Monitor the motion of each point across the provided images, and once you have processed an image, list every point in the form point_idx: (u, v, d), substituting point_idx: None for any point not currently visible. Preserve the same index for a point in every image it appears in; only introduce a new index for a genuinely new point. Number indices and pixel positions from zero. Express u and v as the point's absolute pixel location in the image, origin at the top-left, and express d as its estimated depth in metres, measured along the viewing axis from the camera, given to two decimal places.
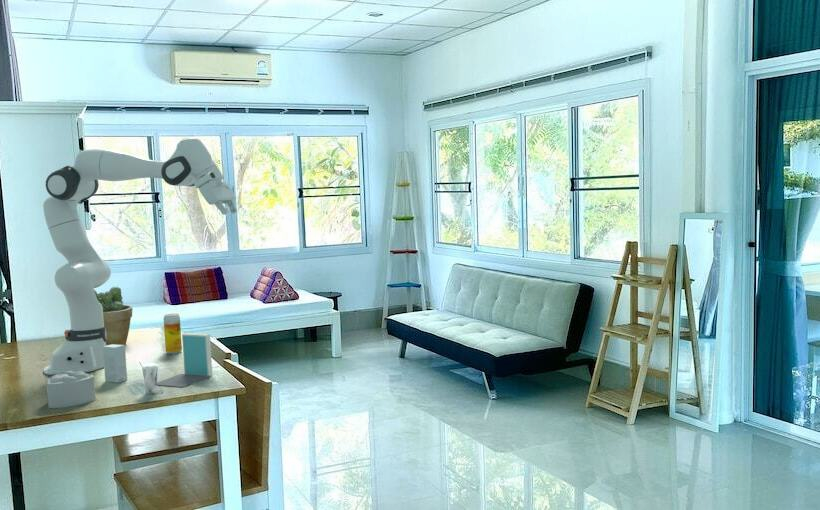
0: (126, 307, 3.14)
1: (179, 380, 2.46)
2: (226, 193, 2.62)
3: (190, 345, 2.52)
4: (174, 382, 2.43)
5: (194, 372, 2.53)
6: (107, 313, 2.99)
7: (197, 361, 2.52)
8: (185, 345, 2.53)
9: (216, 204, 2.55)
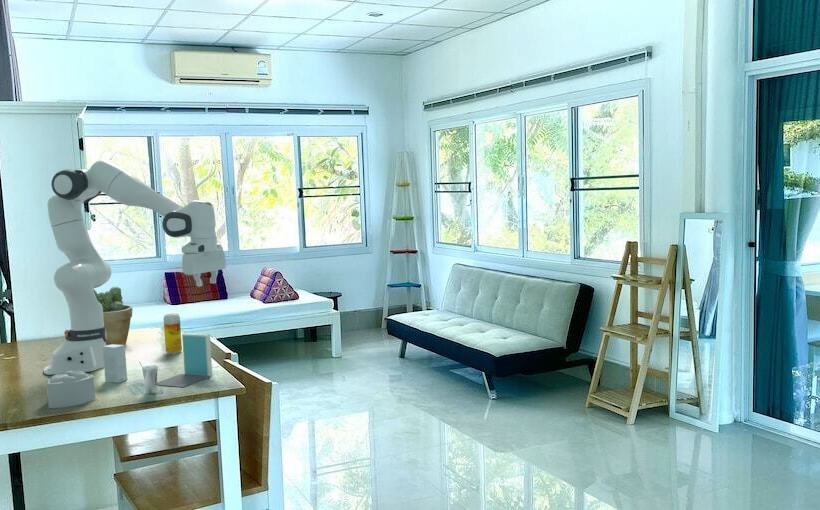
0: (126, 307, 3.14)
1: (179, 380, 2.46)
2: (212, 264, 2.65)
3: (190, 345, 2.52)
4: (174, 382, 2.43)
5: (194, 372, 2.53)
6: (107, 313, 2.99)
7: (197, 361, 2.52)
8: (185, 345, 2.53)
9: (194, 275, 2.59)
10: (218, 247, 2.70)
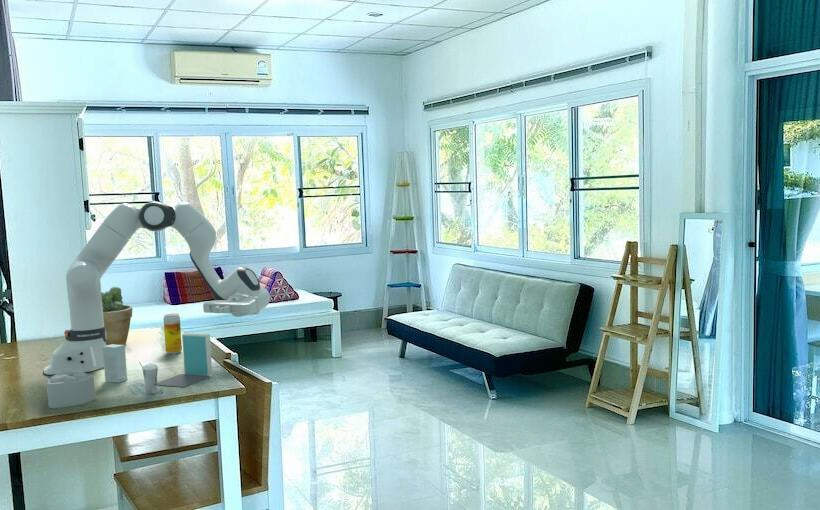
0: (126, 307, 3.14)
1: (179, 380, 2.46)
2: None
3: (190, 345, 2.52)
4: (174, 382, 2.43)
5: (194, 372, 2.53)
6: (107, 313, 2.99)
7: (197, 361, 2.52)
8: (185, 345, 2.53)
9: (229, 307, 2.66)
10: None
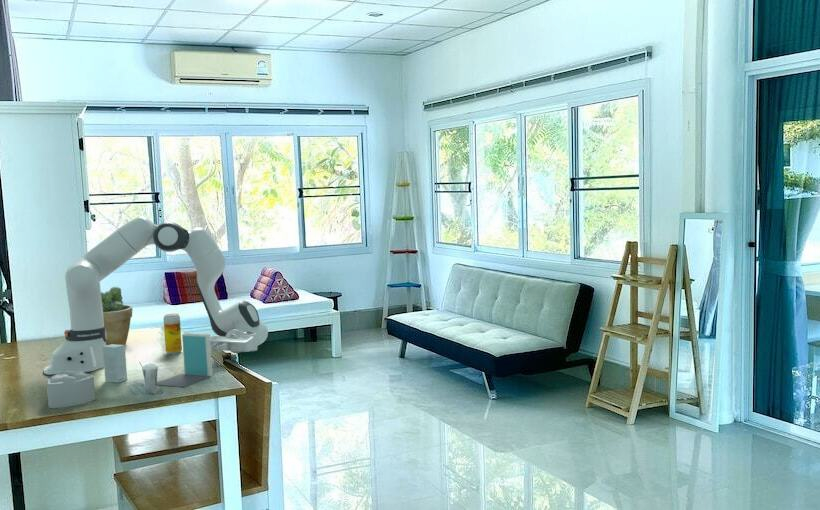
0: (126, 307, 3.14)
1: (179, 380, 2.46)
2: None
3: (190, 345, 2.52)
4: (174, 382, 2.43)
5: (194, 372, 2.53)
6: (107, 313, 2.99)
7: (197, 361, 2.52)
8: (185, 345, 2.53)
9: (227, 345, 2.65)
10: None
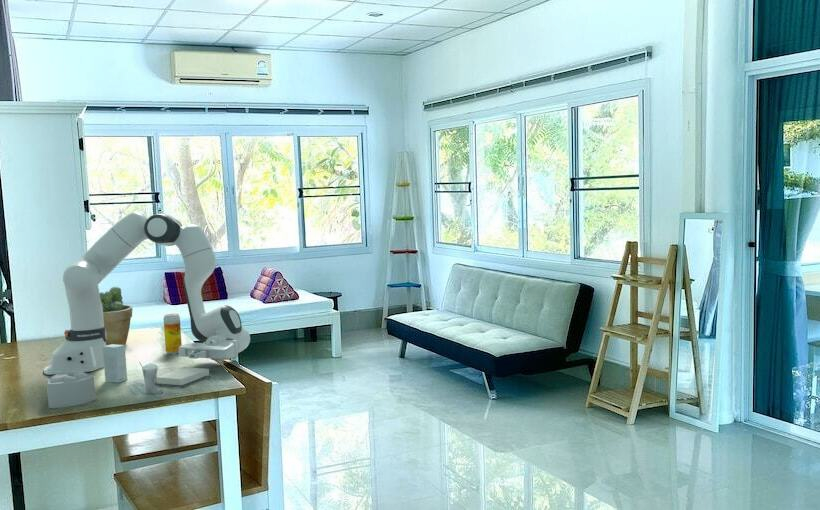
0: (126, 307, 3.14)
1: None
2: None
3: None
4: None
5: None
6: (107, 313, 2.99)
7: None
8: None
9: (206, 352, 2.54)
10: None
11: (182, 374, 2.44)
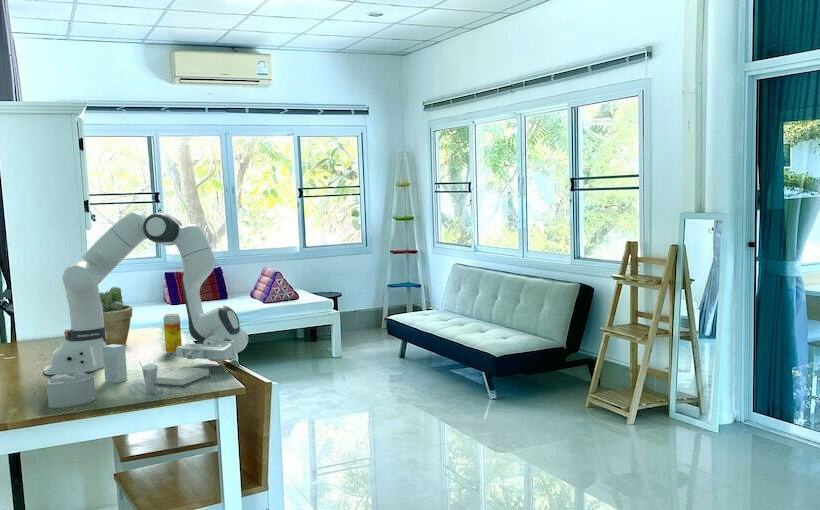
0: (126, 307, 3.14)
1: None
2: None
3: None
4: None
5: None
6: (107, 313, 2.99)
7: None
8: None
9: (203, 353, 2.52)
10: None
11: (182, 374, 2.44)
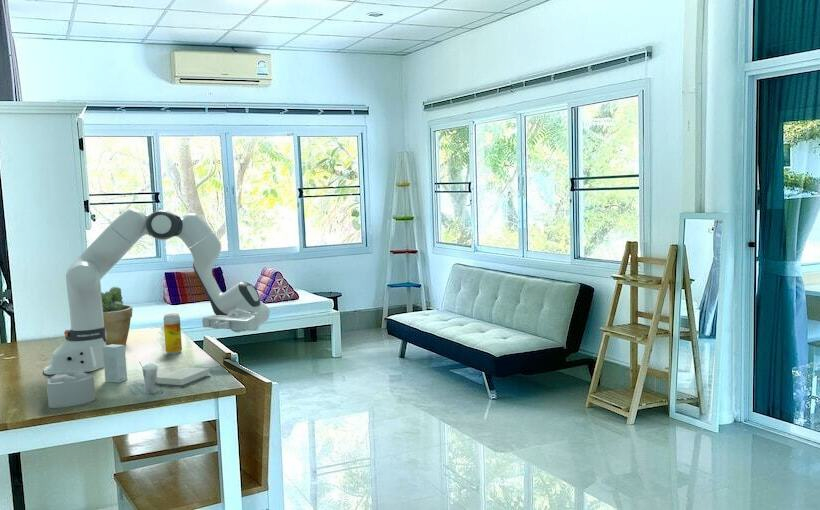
0: (126, 307, 3.14)
1: None
2: None
3: None
4: None
5: None
6: (107, 313, 2.99)
7: None
8: None
9: (228, 323, 2.66)
10: None
11: (182, 374, 2.44)
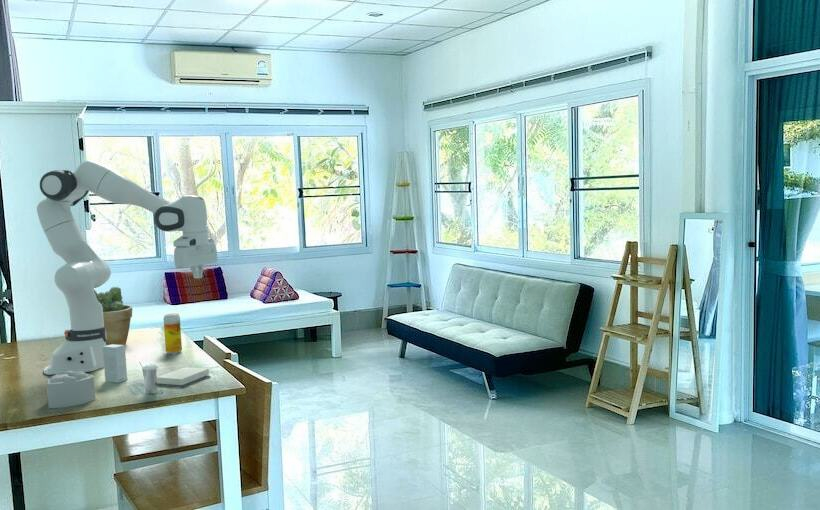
0: (126, 307, 3.14)
1: None
2: (203, 258, 2.69)
3: None
4: None
5: None
6: (107, 313, 2.99)
7: None
8: None
9: (191, 267, 2.67)
10: (210, 241, 2.75)
11: (182, 374, 2.44)
